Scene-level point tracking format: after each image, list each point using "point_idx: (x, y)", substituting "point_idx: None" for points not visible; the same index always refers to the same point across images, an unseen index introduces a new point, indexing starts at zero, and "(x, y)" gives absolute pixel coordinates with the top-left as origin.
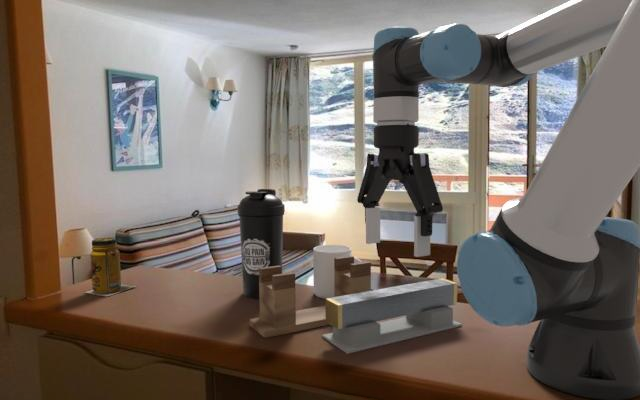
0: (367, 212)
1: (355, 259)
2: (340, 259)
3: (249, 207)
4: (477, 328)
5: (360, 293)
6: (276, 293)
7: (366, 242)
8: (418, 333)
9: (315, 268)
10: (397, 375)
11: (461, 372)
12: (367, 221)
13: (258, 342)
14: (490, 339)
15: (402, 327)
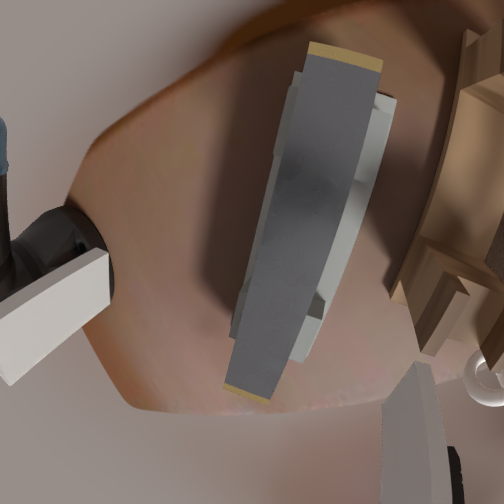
0: (437, 499)
1: (495, 398)
2: None
3: None
4: (211, 331)
5: (346, 172)
6: (498, 27)
7: (427, 367)
8: (256, 243)
9: None
10: (180, 81)
11: (133, 164)
12: (434, 451)
13: (451, 13)
14: (174, 300)
15: None
